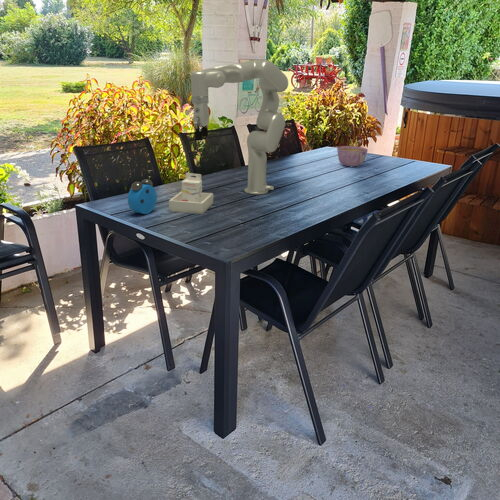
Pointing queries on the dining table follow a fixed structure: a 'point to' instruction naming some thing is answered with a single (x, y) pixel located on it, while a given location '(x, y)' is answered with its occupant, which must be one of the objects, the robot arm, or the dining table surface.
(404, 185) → the dining table surface
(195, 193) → the ink cartridge box
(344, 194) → the dining table surface
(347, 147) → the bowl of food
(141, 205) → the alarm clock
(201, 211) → the cream square tray
